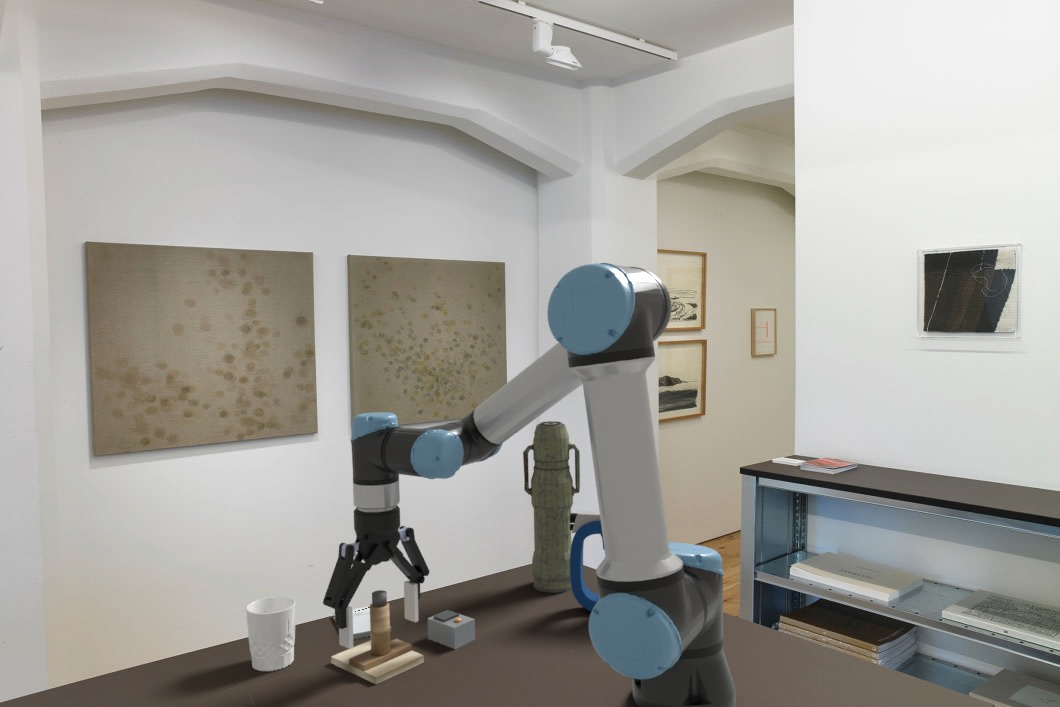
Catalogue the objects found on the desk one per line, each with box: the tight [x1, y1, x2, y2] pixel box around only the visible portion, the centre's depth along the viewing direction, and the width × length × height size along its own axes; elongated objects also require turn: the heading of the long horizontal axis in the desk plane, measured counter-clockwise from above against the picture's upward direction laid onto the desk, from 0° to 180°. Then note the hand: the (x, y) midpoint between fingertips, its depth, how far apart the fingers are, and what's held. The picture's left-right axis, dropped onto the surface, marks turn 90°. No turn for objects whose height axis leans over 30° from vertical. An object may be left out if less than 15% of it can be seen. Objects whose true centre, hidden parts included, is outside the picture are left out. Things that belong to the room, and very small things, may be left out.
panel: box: [330, 638, 425, 685], centre depth 130 cm, size 12×10×2 cm
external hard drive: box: [332, 605, 392, 641], centre depth 147 cm, size 2×8×12 cm
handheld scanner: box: [570, 510, 605, 613], centre depth 150 cm, size 5×16×20 cm, turn 78°
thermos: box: [522, 420, 581, 594], centre depth 165 cm, size 9×12×35 cm
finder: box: [427, 609, 476, 650], centre depth 139 cm, size 7×5×4 cm
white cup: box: [245, 596, 296, 672], centre depth 131 cm, size 8×8×10 cm
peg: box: [369, 589, 391, 656], centre depth 129 cm, size 3×3×10 cm
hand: (380, 632), depth 129 cm, fingers open, 13 cm apart
